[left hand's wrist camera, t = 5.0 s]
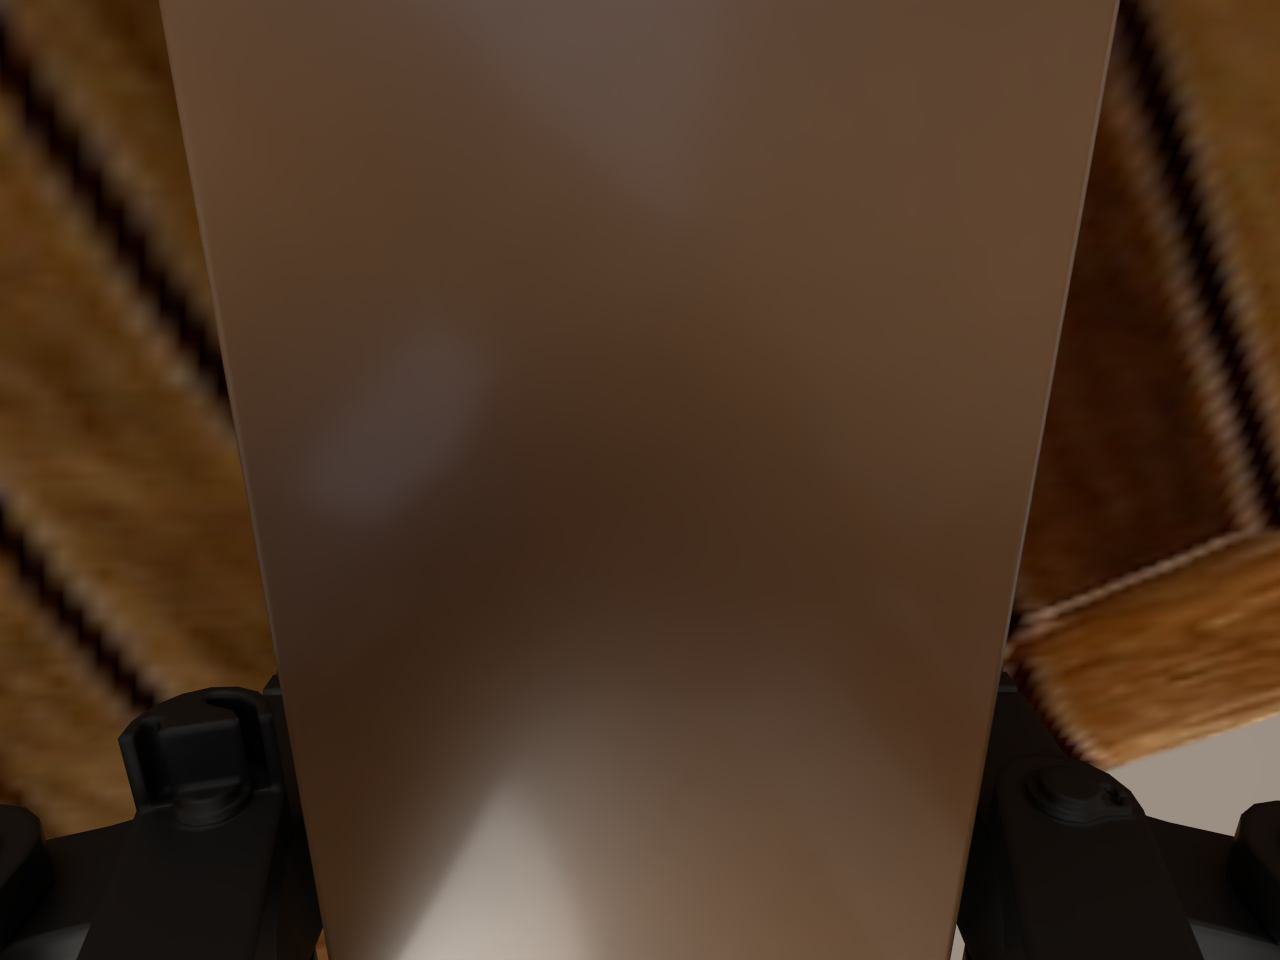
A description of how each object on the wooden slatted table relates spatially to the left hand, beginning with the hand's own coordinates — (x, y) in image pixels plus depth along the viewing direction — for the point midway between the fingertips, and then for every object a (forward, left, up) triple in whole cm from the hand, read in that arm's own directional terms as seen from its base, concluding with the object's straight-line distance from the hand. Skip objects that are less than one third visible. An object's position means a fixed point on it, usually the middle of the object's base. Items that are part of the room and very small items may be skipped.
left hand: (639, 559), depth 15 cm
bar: (-7, +4, -1) cm, 8 cm away
